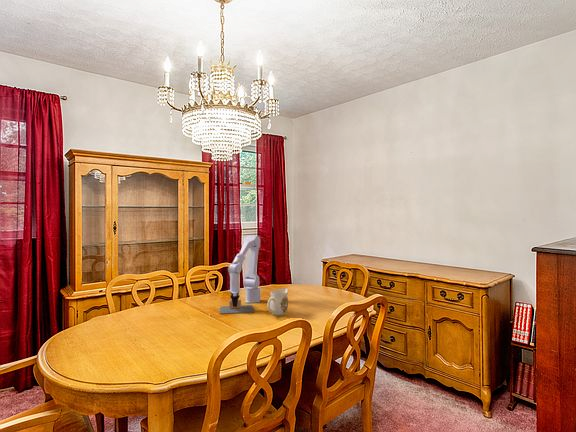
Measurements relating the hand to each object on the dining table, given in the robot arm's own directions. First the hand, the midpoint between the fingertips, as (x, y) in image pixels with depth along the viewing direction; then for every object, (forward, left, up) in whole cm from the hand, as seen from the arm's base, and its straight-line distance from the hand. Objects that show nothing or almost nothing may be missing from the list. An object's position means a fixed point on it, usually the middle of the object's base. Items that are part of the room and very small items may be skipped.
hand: (234, 304), depth 212 cm
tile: (0, 0, -2) cm, 2 cm away
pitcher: (-25, +15, -3) cm, 29 cm away
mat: (-1, +2, -3) cm, 3 cm away
